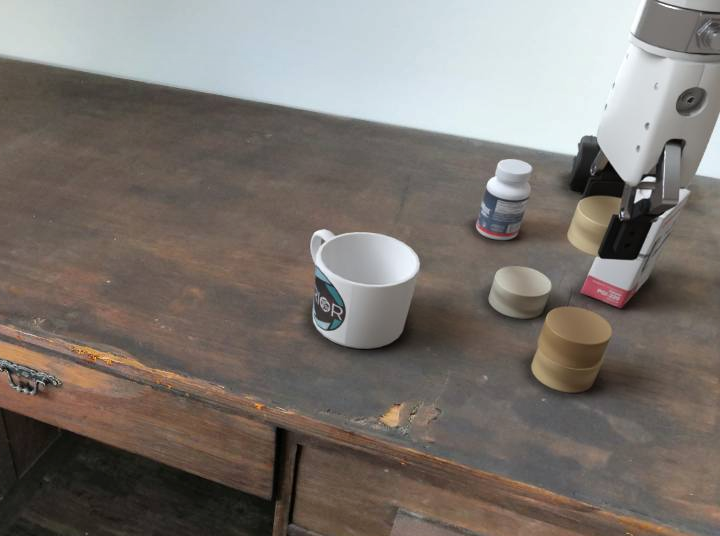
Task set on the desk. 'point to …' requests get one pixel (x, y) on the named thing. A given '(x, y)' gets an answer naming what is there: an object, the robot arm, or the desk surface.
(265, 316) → the desk surface
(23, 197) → the desk surface
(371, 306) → the mug
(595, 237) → the maple chip
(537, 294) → the ash chip
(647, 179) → the ink box
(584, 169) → the end cap
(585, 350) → the chip pile
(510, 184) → the pill bottle
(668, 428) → the desk surface
